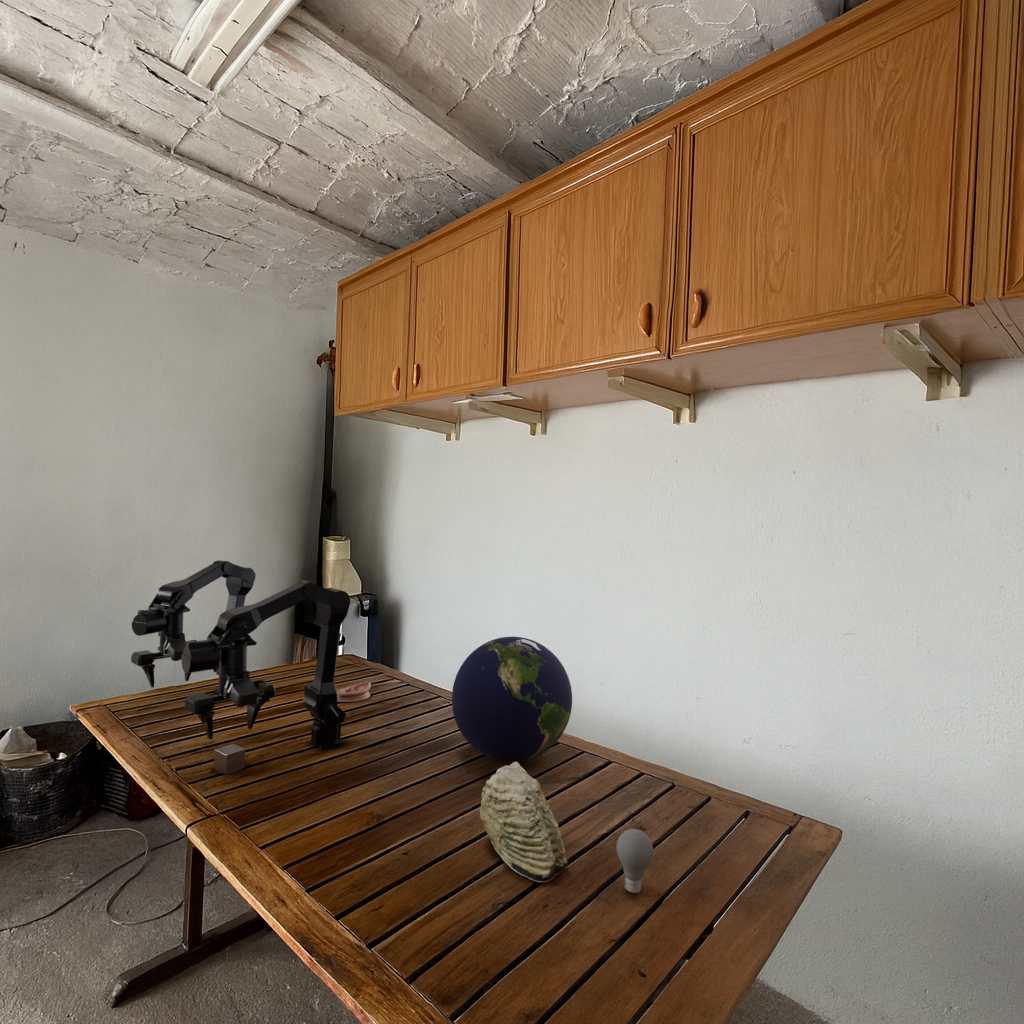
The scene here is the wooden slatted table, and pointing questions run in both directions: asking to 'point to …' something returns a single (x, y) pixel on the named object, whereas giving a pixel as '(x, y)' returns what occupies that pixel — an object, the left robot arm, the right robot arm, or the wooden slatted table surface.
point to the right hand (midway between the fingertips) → (230, 733)
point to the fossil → (522, 824)
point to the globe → (512, 699)
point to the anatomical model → (354, 692)
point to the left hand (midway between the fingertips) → (169, 684)
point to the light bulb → (634, 857)
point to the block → (229, 759)
